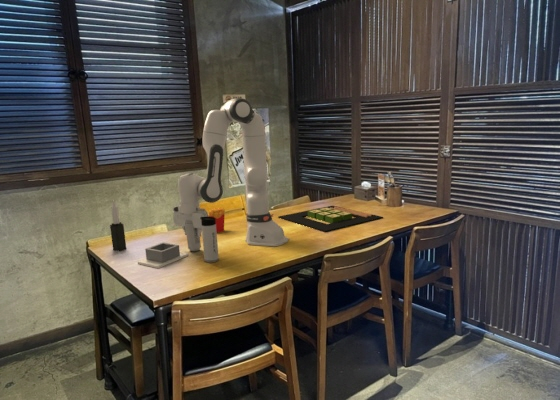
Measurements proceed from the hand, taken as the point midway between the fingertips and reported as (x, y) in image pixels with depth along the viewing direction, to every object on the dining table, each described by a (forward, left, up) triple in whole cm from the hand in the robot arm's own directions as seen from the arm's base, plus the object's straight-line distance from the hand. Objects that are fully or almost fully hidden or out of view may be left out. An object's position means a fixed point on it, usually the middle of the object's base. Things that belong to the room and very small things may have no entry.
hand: (193, 235), depth 192 cm
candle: (+37, +14, -8) cm, 41 cm away
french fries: (+12, -32, -8) cm, 35 cm away
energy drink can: (0, 0, -7) cm, 7 cm away
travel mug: (-17, +7, -8) cm, 20 cm away
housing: (+4, +15, -8) cm, 18 cm away
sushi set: (-33, -83, -9) cm, 90 cm away
